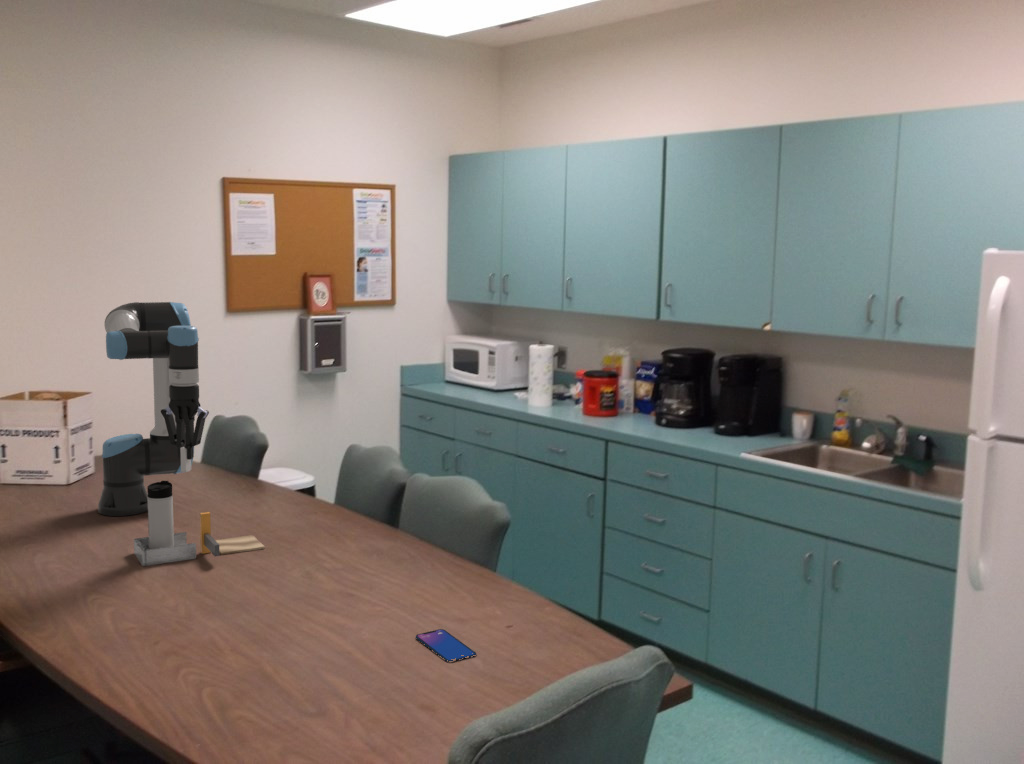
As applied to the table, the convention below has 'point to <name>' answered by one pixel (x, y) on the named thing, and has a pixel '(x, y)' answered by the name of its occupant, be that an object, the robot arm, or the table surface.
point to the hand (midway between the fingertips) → (186, 470)
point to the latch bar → (207, 536)
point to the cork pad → (239, 544)
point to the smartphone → (445, 644)
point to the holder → (164, 551)
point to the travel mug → (160, 515)
